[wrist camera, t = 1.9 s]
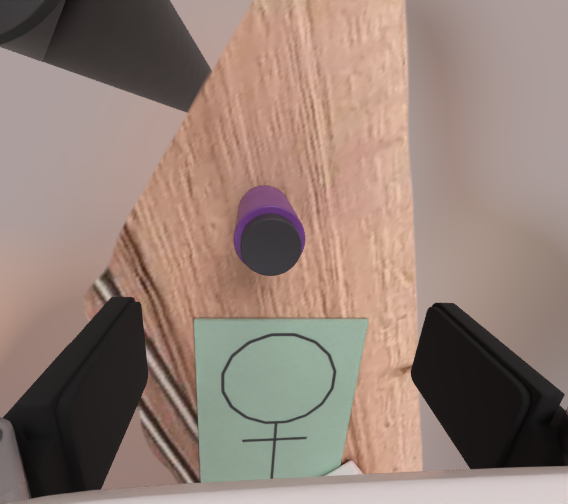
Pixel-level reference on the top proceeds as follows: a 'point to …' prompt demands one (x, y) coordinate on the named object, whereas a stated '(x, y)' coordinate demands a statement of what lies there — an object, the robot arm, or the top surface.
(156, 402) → the top surface
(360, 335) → the sketch card
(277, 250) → the cylinder
